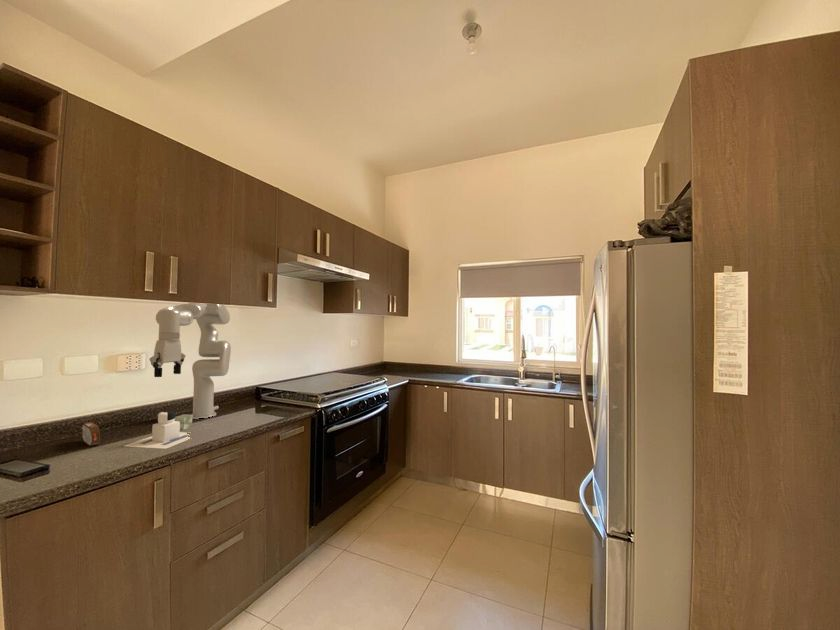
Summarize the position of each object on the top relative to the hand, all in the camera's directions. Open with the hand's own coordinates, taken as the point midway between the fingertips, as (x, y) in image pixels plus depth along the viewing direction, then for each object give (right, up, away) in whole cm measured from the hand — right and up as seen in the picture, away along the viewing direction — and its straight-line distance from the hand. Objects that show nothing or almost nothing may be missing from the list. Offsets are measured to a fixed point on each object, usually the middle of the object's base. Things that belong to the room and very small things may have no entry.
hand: (167, 375), depth 149 cm
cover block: (-4, -29, +16) cm, 33 cm away
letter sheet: (0, -28, -1) cm, 28 cm away
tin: (-28, -28, -7) cm, 40 cm away
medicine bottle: (0, -28, -1) cm, 28 cm away
